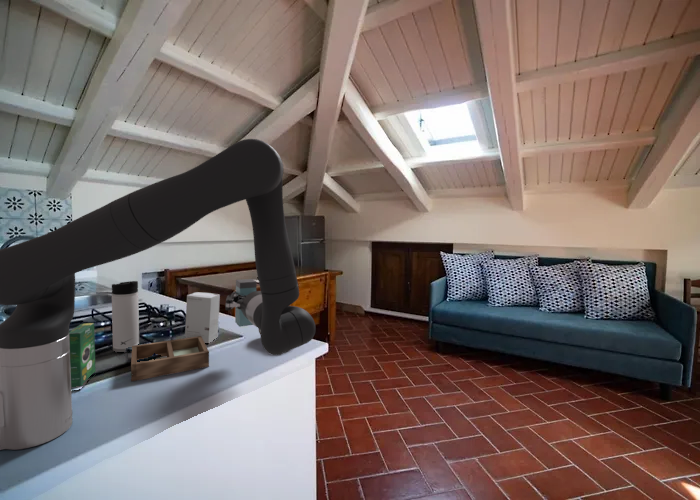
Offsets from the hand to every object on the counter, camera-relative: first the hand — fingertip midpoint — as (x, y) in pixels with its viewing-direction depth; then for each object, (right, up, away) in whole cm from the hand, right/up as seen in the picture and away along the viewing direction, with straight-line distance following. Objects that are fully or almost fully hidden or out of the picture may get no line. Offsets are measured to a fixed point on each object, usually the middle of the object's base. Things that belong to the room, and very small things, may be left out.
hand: (243, 294), depth 92 cm
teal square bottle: (+1, -8, -2) cm, 8 cm away
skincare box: (-17, -16, +12) cm, 26 cm away
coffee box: (-32, -18, -17) cm, 40 cm away
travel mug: (-35, -16, +3) cm, 38 cm away
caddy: (-18, -18, -5) cm, 26 cm away
